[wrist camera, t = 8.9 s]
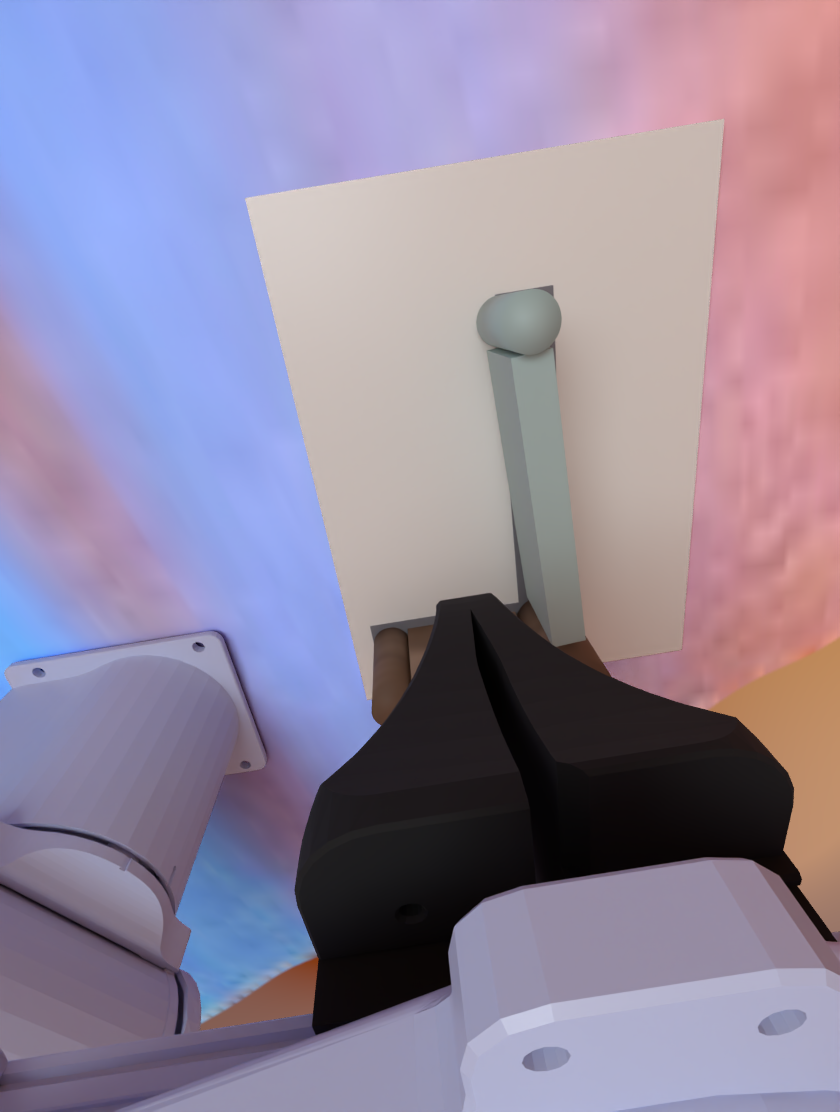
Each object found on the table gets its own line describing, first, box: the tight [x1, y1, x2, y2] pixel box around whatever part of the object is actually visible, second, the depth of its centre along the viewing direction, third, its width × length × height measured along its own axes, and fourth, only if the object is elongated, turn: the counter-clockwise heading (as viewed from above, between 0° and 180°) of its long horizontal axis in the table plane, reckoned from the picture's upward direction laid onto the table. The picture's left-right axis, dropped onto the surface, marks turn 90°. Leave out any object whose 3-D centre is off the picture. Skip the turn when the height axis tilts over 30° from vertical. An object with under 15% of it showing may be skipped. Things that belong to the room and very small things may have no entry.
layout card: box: [245, 119, 724, 700], centre depth 20 cm, size 15×20×1 cm
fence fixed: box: [372, 600, 611, 725], centre depth 21 cm, size 9×2×6 cm, turn 98°
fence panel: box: [476, 289, 586, 647], centre depth 18 cm, size 12×2×4 cm, turn 13°
